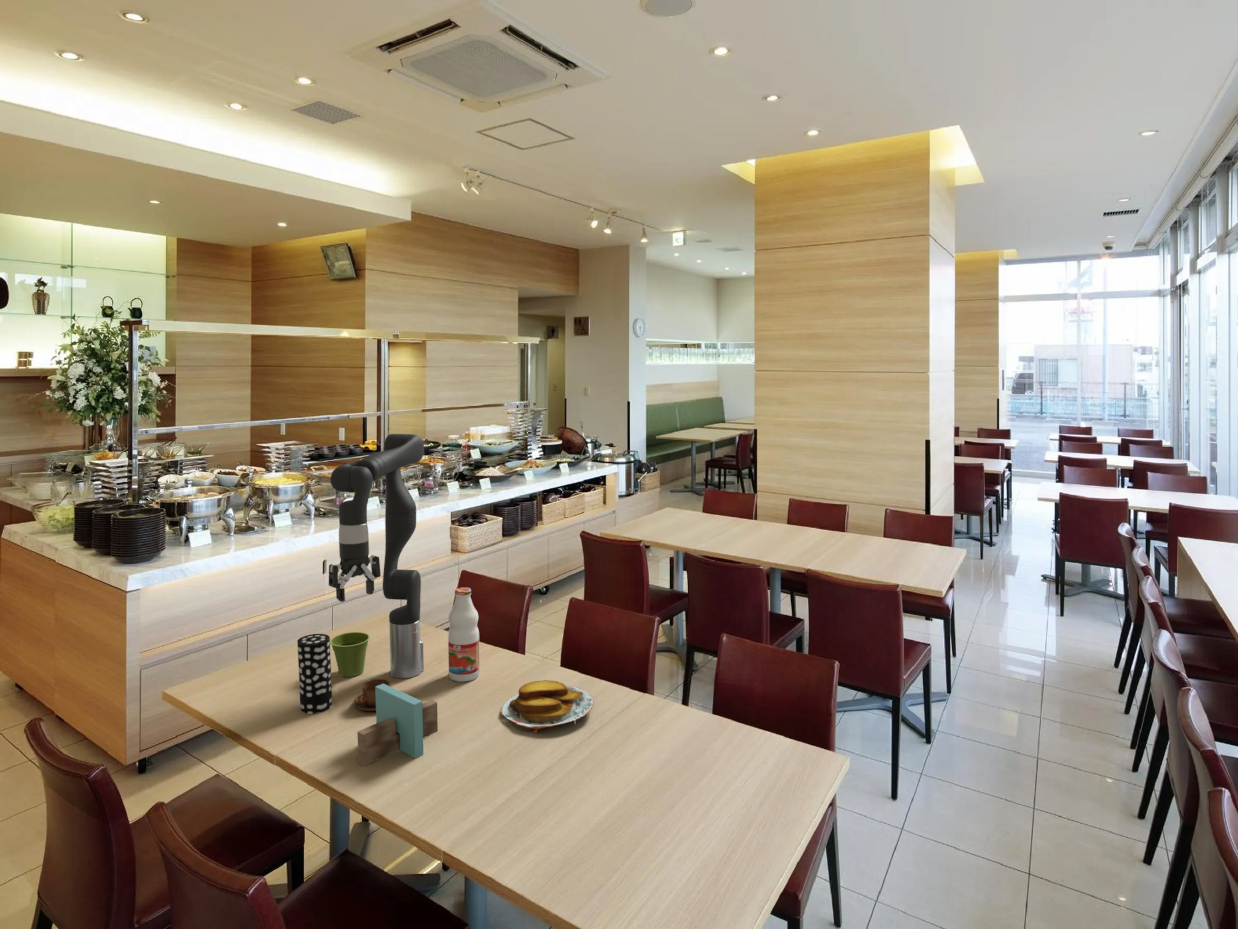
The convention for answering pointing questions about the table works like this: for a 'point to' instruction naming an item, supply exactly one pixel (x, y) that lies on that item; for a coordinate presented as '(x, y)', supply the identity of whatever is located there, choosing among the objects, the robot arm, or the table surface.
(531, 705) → the food on plate
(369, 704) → the cup and saucer
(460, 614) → the fruit juice
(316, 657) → the spotted tube
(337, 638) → the plant pot
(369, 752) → the walnut board
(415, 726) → the teal plate
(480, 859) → the table surface
